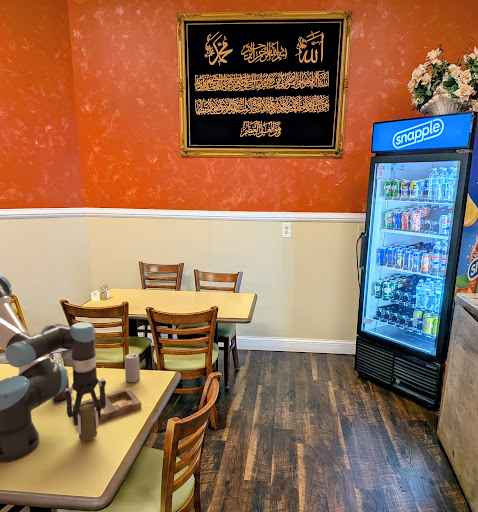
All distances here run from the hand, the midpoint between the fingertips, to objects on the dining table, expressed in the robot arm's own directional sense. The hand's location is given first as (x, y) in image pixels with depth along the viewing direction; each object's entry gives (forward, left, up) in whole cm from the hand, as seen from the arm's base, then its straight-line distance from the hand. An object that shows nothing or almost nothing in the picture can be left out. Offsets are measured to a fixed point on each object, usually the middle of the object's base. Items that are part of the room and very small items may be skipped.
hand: (87, 429), depth 136 cm
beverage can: (+28, +32, -4) cm, 43 cm away
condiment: (-2, +34, -4) cm, 34 cm away
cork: (0, 0, -3) cm, 3 cm away
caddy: (+11, +15, -4) cm, 19 cm away
